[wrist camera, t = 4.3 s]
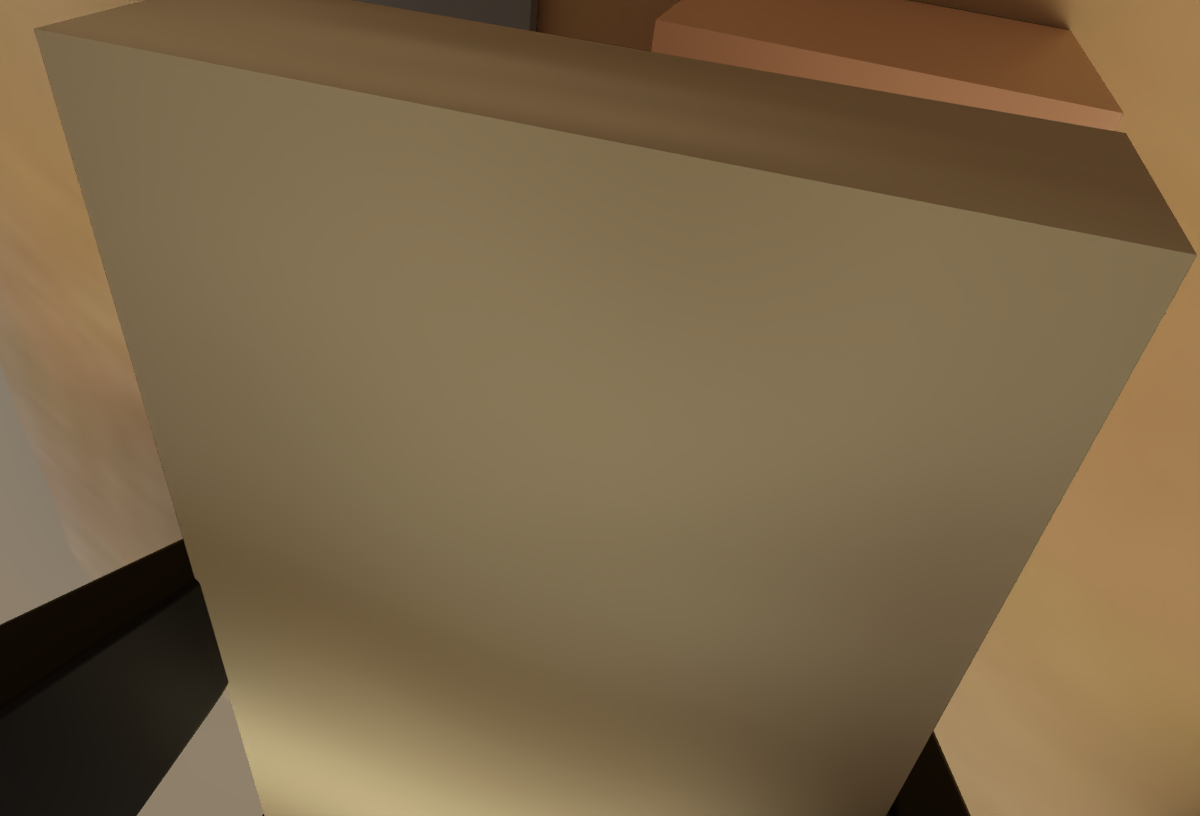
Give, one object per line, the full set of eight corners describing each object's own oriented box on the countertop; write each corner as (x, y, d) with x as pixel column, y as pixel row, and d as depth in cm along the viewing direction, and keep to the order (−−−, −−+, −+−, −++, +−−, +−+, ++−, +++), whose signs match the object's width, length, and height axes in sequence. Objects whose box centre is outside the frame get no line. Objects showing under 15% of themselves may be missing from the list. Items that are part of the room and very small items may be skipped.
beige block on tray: (767, 916, 13) (746, 1069, 11) (354, 766, 14) (284, 883, 13) (1124, 132, 6) (1195, 254, 4) (228, -21, 7) (34, 28, 6)
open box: (883, 473, 20) (873, 631, 16) (643, 405, 21) (580, 538, 18) (1070, 30, 14) (1124, 113, 11) (724, -34, 15) (655, 19, 12)
